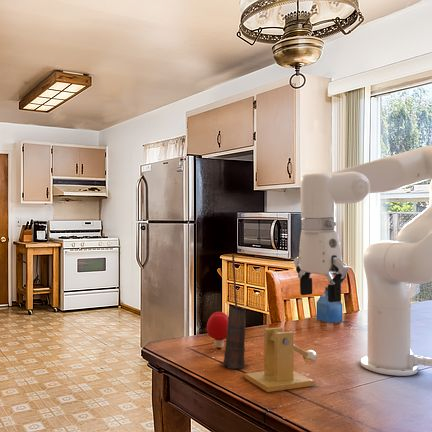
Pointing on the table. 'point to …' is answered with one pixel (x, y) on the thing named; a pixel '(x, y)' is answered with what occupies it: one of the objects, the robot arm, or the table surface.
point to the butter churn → (235, 334)
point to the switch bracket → (278, 364)
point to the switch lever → (301, 351)
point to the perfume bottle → (328, 309)
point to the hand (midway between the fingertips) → (319, 297)
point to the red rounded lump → (218, 328)
